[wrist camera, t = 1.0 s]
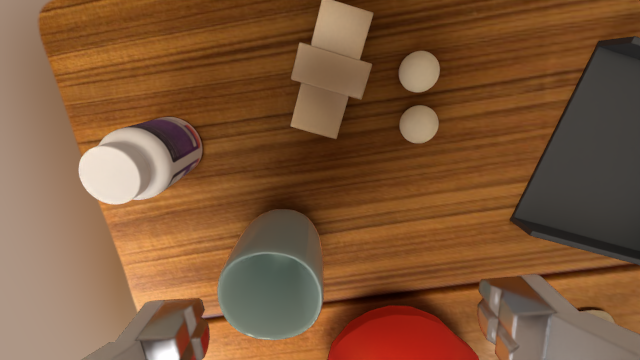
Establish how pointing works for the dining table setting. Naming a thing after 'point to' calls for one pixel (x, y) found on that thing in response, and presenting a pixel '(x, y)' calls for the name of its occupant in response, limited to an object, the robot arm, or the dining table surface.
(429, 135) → the crumb
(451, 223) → the dining table surface
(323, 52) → the brush
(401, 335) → the tomato
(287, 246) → the cup
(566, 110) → the dustpan
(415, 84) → the crumb
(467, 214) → the dining table surface
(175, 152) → the pill bottle
